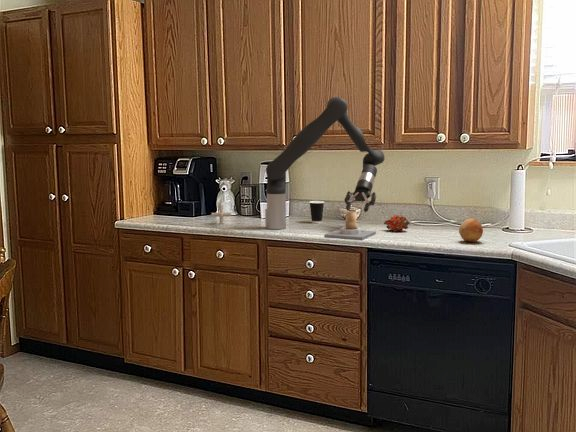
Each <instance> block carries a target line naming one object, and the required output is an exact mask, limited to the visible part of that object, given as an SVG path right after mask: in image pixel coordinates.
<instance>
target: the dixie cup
mask: <svg viewBox="0 0 576 432" xmlns="http://www.w3.org/2000/svg"><path fill="white" fill-rule="evenodd" d="M324 205H325V201H323V200H312V201H309V208H310V209H309V210H310V216H311V222H312V224H322V221H323V215H324V214H323V213H324Z"/></svg>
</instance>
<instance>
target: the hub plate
mask: <svg viewBox="0 0 576 432" xmlns="http://www.w3.org/2000/svg"><path fill="white" fill-rule="evenodd" d="M374 235H377V231H375V230H374V231H373V230H362V228H360V227H357V226H356V229H355V230H347V229H346V226H345V227H341V228H338V229H336V230H333V231H331V232H327V233H325V234H324V238H332V239H342V240H343V239H345V240H358V241H364V240H365V239H366V240H367V239H368V238H370V237H372V236H374Z"/></svg>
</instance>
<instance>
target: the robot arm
mask: <svg viewBox="0 0 576 432" xmlns="http://www.w3.org/2000/svg"><path fill="white" fill-rule="evenodd" d="M348 107H349V106H348V102H347V101H346V99H344V98H342V97H340V96H333V97H331V98H330V99H329V100H328V101H327V103H326V108H325V109H324V110H323V112H322V113H321V114H320V115H318V116H317V118H314V120H312V121H311V122H309V123H308V124H307V125H306V126H303V128H301V130H299V132H298V133H297V134H296V135H295V136H294V138H293V139H292V140H290V142H289V144H288V145H286V148H285V149H284V150H283V151H282V152H281V153H280V154H279V155H278V156H276V157H275V158H274V159H273V160H272V161H270V162H269V163H268V164H267V166H266V167H265V174H266V208H265V210H264V213H265V219H264V221H265V222H264V223H265V229H269V230H284V229H286V227H287V221H286V220H287V219H286V217H287V216H286V215H287V210H286V209H287V208H286V206H287V205H286V199H287V198H286V197H287V196H286V195H287V194H286V190H287V189H286V188H287V187H286V186H287V182H286V181H287V177H286V176H287V171H288V170H289V169H290V167H291V166H292V165H293V164H294V163H295V162H296V161H297V160H298V159H300V158H301V157H302V156H303V155H305V154H306V153H307V152H308V151H309V150H310V149H311V148H312V147H313V146H314V145H316V144H317V143H318V141H319V140H320V139H321V138H322V137H323V135H324V134H325V133H326V132H327V131H328V129H329V128H331V126H332V125H334V124H335V123H336V122H338V123H339V124H340V126H341V127H342V128H343V129H344V130H345V132H346V133H347V135H348V137H349V138H350V139H351V142H352V143H353V142H354V143H353V144H354V146H355V147H356V146H357V147H356V148H357V149H358V150H359V152H361V153H364V152H365V153H366V154H365V155H364V156H363V158H362V171H361V173H360V175H359V177H358V181H357V183H356V185H355V188H354V192H351V191H349V190H348V191H347V192H346V193H347V194H346V195H345V198H344V199H343V200H344V203H345V204H346V206H345V209H346V211H348V210H351V208H352V205H353V204H355V203H357V202H360V203H364V202H365V204H364V208H363V211H364V213H367V212H368V211H369V209H370V207H371V206H375V203H376V198H377V195H376V192H375V191H373V192H372V190H373V187H374V183H375V179H376V177H377V173H378V169H377V166H378V165H380V164H383V163H384V161H385V154H384V152H383V151H382V150H381V149H380V150H372V149H371V148H370V147H369V146H367V145H366V143H365V139H364V137H363V136H364V135H363V133H362V131H361V130H360V129H359V128H358V127H356V126H355V125H354V124H353V123H352V122H351V121H350V119H349V117H348V115H347V110H348ZM369 199H370V200H369Z"/></svg>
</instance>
